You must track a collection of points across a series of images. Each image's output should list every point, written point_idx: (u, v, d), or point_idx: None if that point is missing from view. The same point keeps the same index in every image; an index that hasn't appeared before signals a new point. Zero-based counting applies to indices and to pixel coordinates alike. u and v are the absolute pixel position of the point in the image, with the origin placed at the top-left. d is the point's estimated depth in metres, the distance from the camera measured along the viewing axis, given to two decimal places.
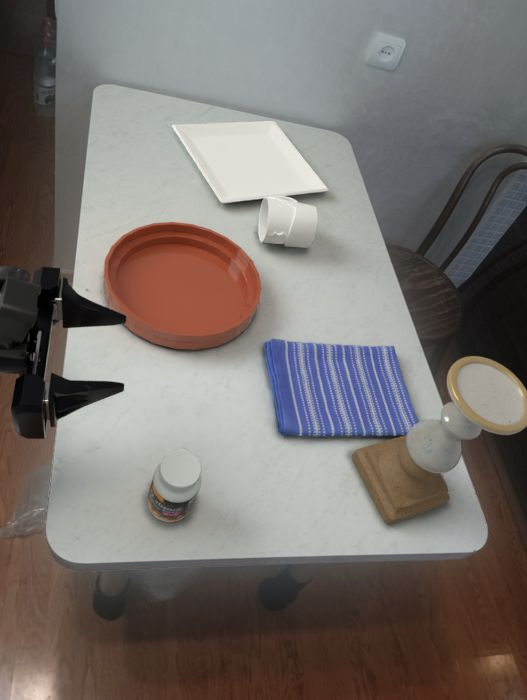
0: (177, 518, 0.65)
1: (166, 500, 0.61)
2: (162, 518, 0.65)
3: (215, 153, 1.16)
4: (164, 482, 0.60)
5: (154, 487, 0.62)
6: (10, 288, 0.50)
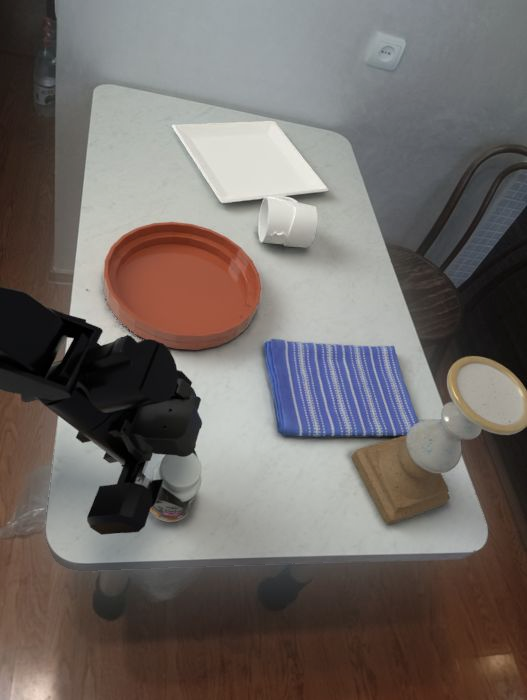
0: (177, 518, 0.65)
1: None
2: (162, 518, 0.65)
3: (215, 153, 1.16)
4: (164, 481, 0.60)
5: None
6: (192, 418, 0.53)
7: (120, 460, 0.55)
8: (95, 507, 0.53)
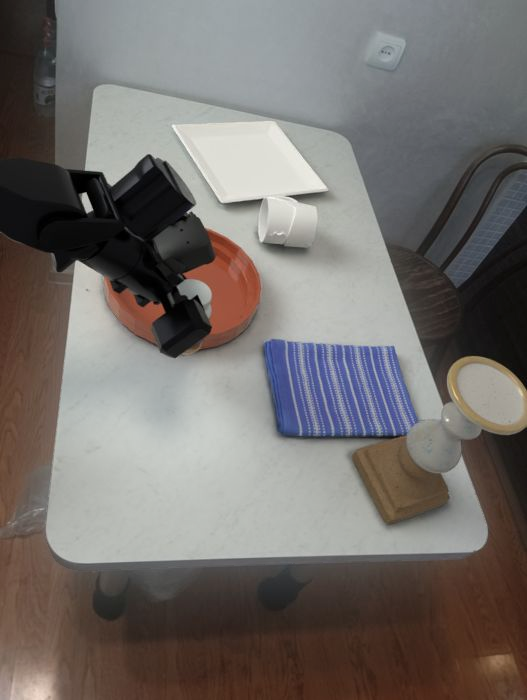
0: (199, 345, 0.74)
1: None
2: (188, 351, 0.73)
3: (215, 153, 1.16)
4: None
5: None
6: None
7: (156, 295, 0.61)
8: (163, 335, 0.59)
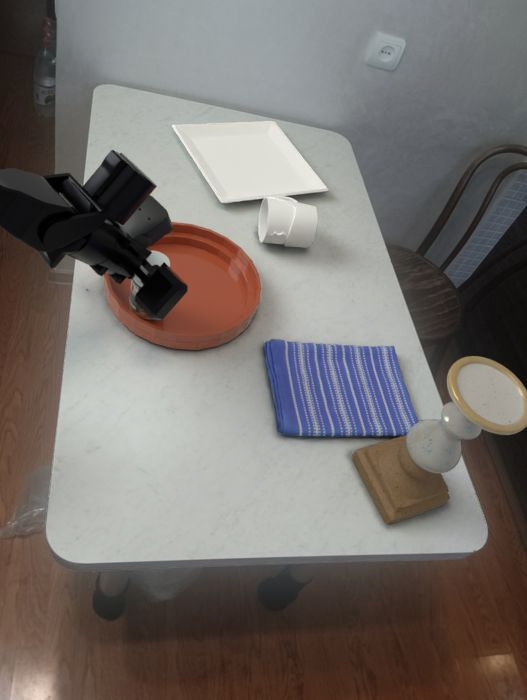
0: None
1: None
2: None
3: (215, 153, 1.16)
4: None
5: None
6: None
7: (131, 270, 0.70)
8: (150, 302, 0.69)
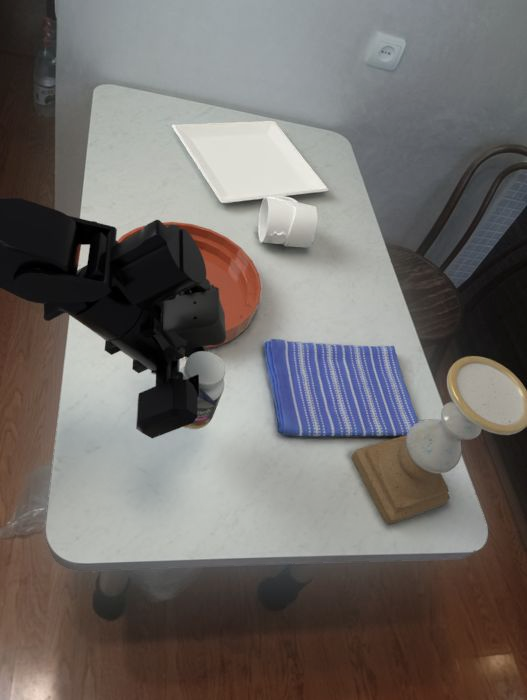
0: (205, 423, 0.67)
1: None
2: (191, 425, 0.66)
3: (215, 153, 1.16)
4: None
5: None
6: (219, 305, 0.54)
7: (152, 365, 0.55)
8: (143, 411, 0.53)
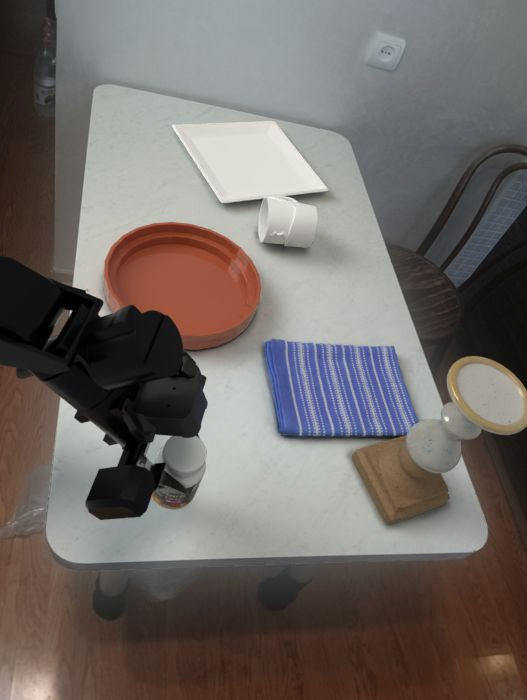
0: (180, 506, 0.63)
1: None
2: (164, 505, 0.62)
3: (215, 153, 1.16)
4: (167, 466, 0.57)
5: None
6: (198, 397, 0.50)
7: (121, 442, 0.52)
8: (94, 491, 0.50)
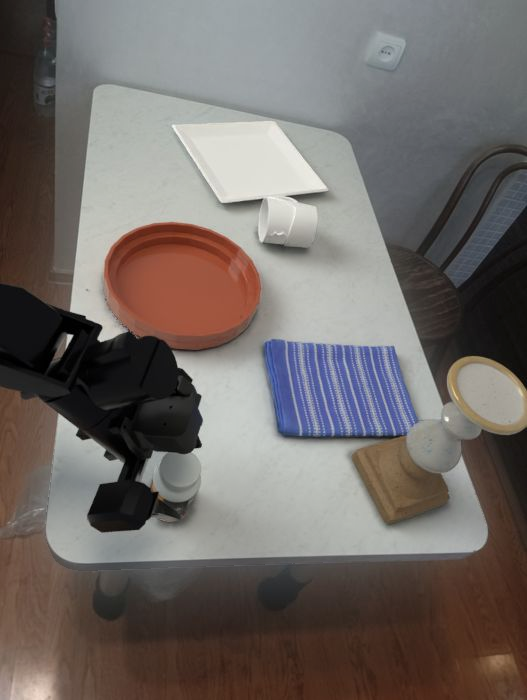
0: None
1: (165, 500, 0.61)
2: None
3: (215, 153, 1.16)
4: (163, 481, 0.60)
5: (154, 487, 0.62)
6: (193, 416, 0.52)
7: (120, 458, 0.55)
8: (95, 505, 0.52)
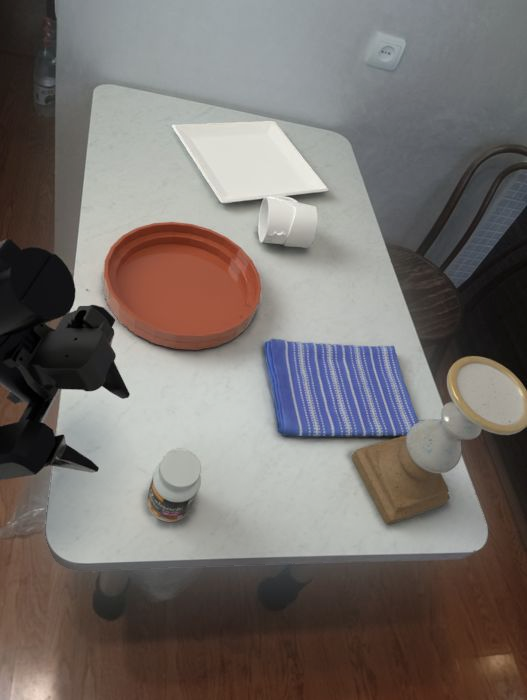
0: (177, 518, 0.65)
1: (165, 500, 0.61)
2: (162, 518, 0.65)
3: (215, 153, 1.16)
4: (163, 481, 0.60)
5: (154, 487, 0.62)
6: (99, 348, 0.47)
7: (23, 398, 0.49)
8: None
